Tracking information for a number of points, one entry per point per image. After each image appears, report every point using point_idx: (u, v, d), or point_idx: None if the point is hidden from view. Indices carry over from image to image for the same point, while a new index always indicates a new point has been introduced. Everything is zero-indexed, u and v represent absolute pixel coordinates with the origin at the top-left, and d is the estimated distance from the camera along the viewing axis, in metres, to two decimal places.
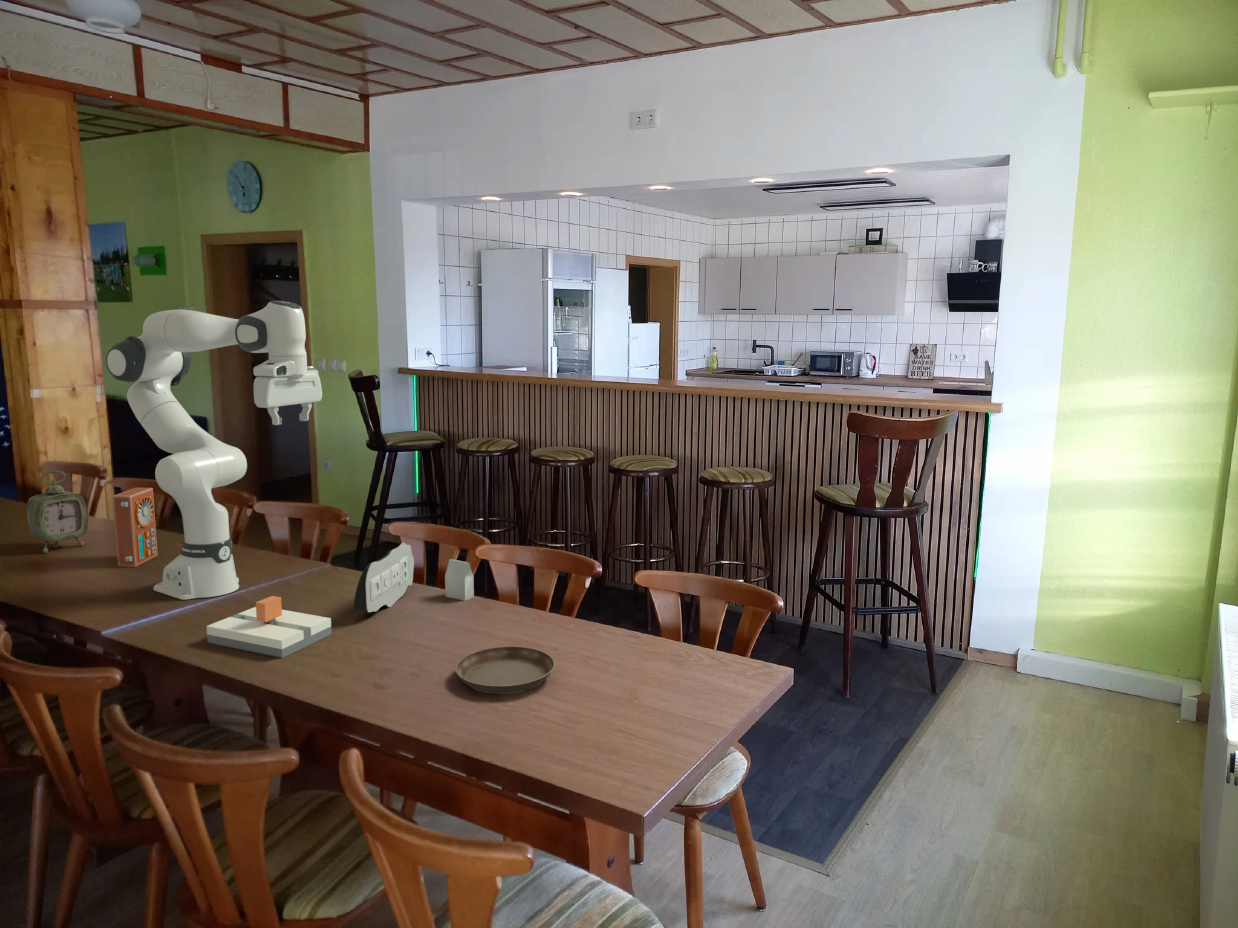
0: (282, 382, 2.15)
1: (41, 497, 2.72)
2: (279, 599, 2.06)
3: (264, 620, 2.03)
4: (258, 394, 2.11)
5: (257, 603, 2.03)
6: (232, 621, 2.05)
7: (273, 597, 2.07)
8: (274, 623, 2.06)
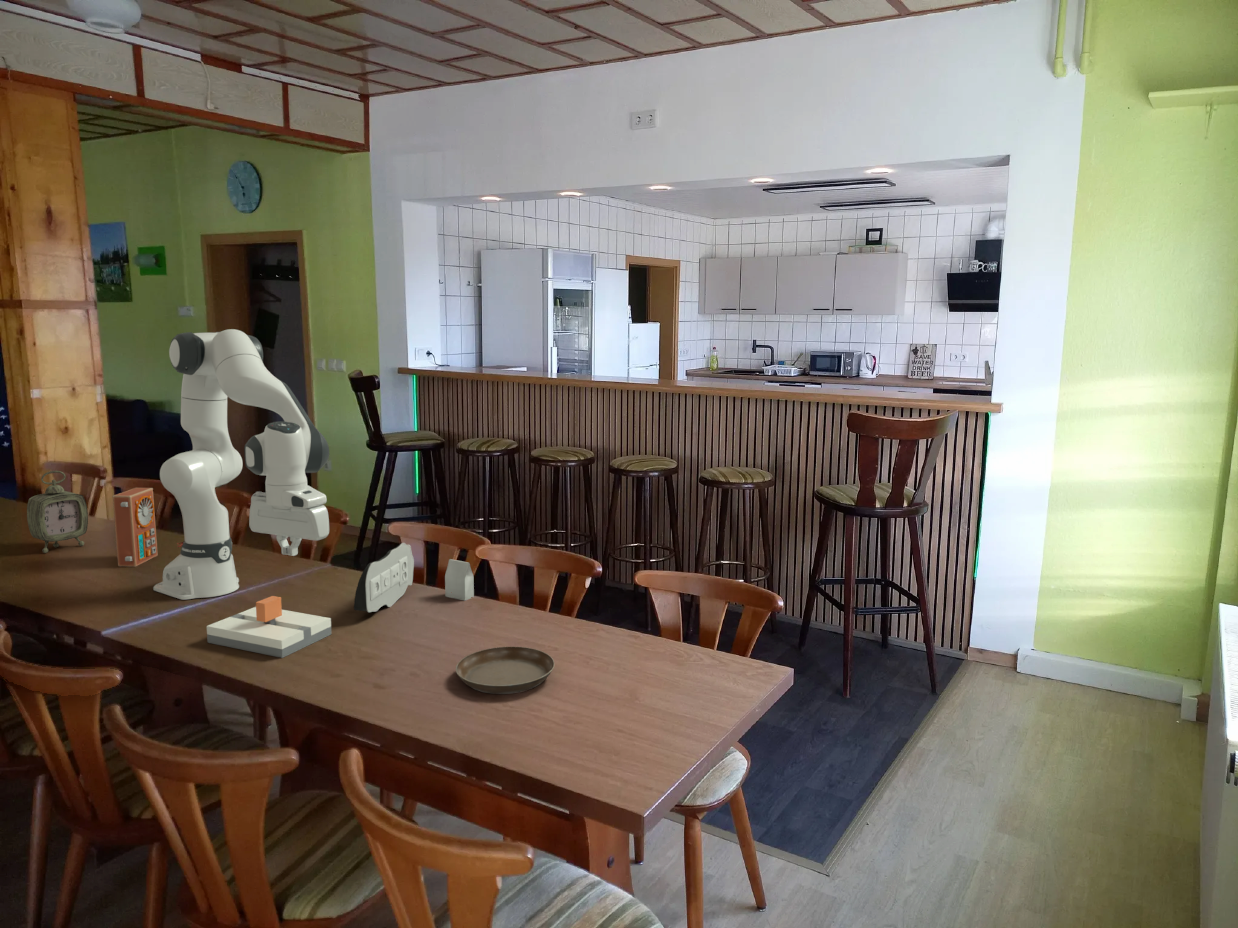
0: None
1: (41, 497, 2.72)
2: (279, 599, 2.06)
3: (264, 620, 2.03)
4: (321, 526, 1.95)
5: (257, 603, 2.03)
6: (232, 621, 2.05)
7: (273, 597, 2.07)
8: (274, 623, 2.06)
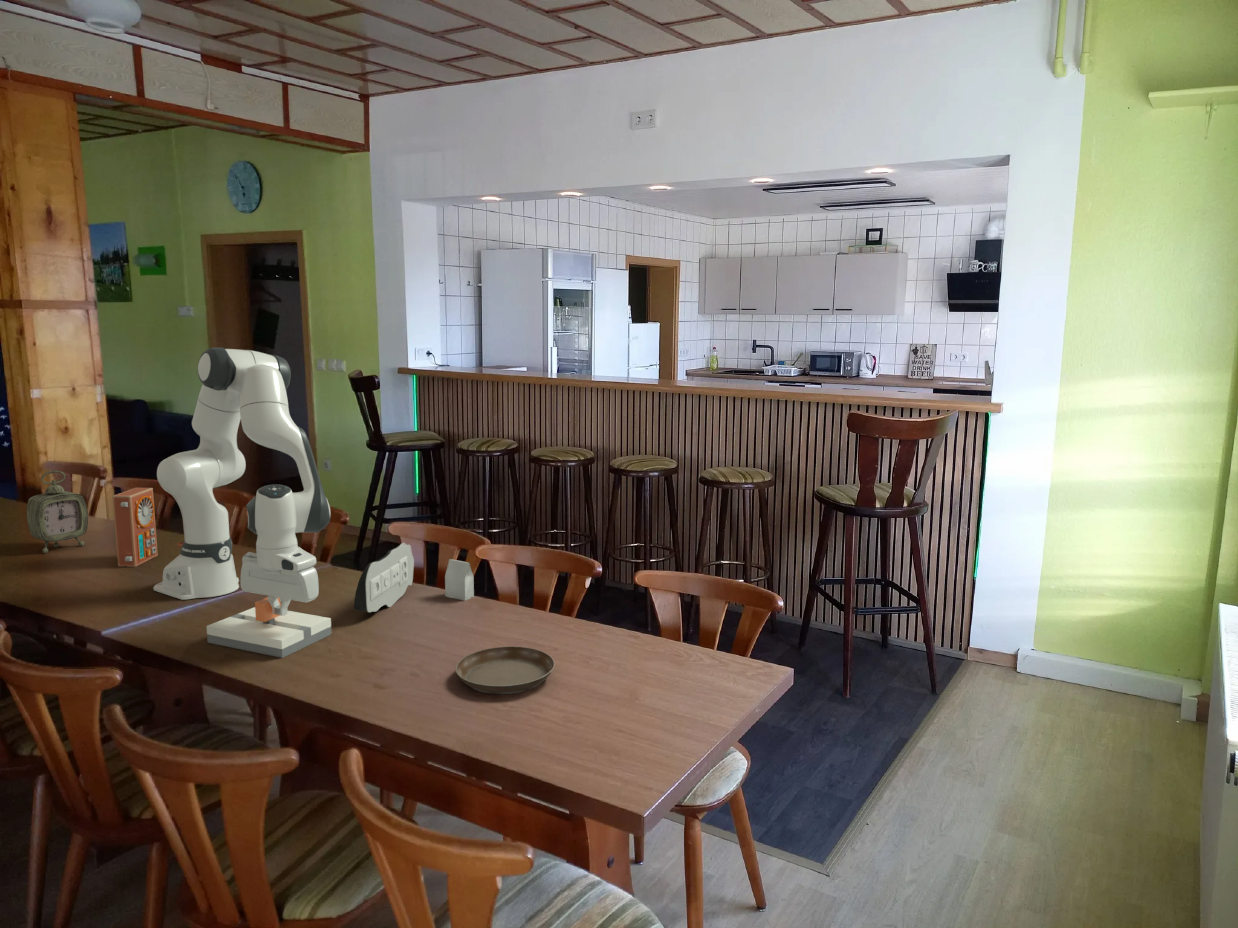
0: None
1: (41, 497, 2.72)
2: (278, 599, 2.06)
3: (263, 620, 2.03)
4: (311, 588, 1.99)
5: (256, 603, 2.03)
6: (232, 621, 2.05)
7: None
8: (273, 623, 2.06)
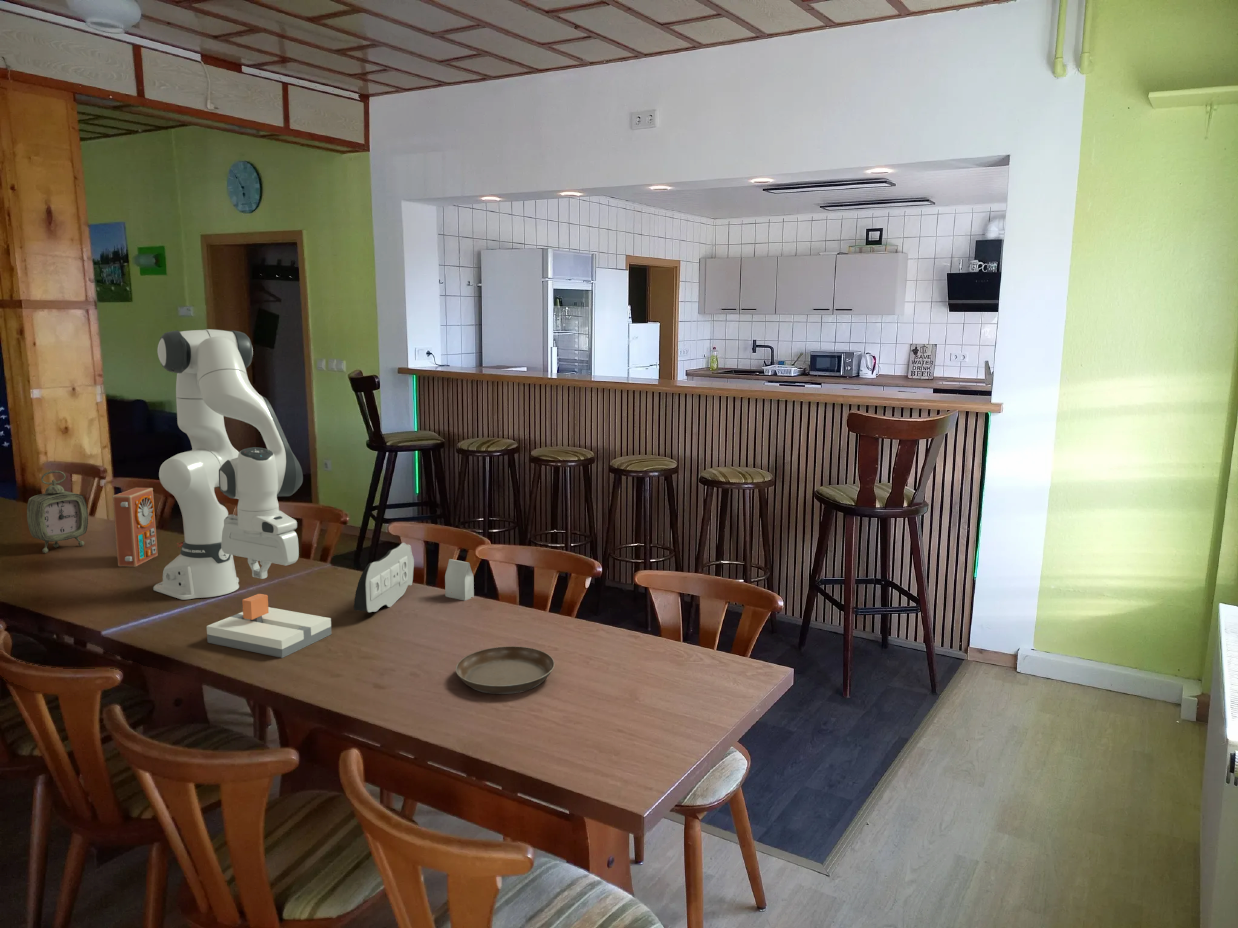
0: None
1: (41, 497, 2.72)
2: (266, 597, 2.08)
3: (250, 617, 2.04)
4: (291, 551, 1.99)
5: (243, 601, 2.04)
6: (232, 621, 2.05)
7: (260, 594, 2.08)
8: (261, 620, 2.07)
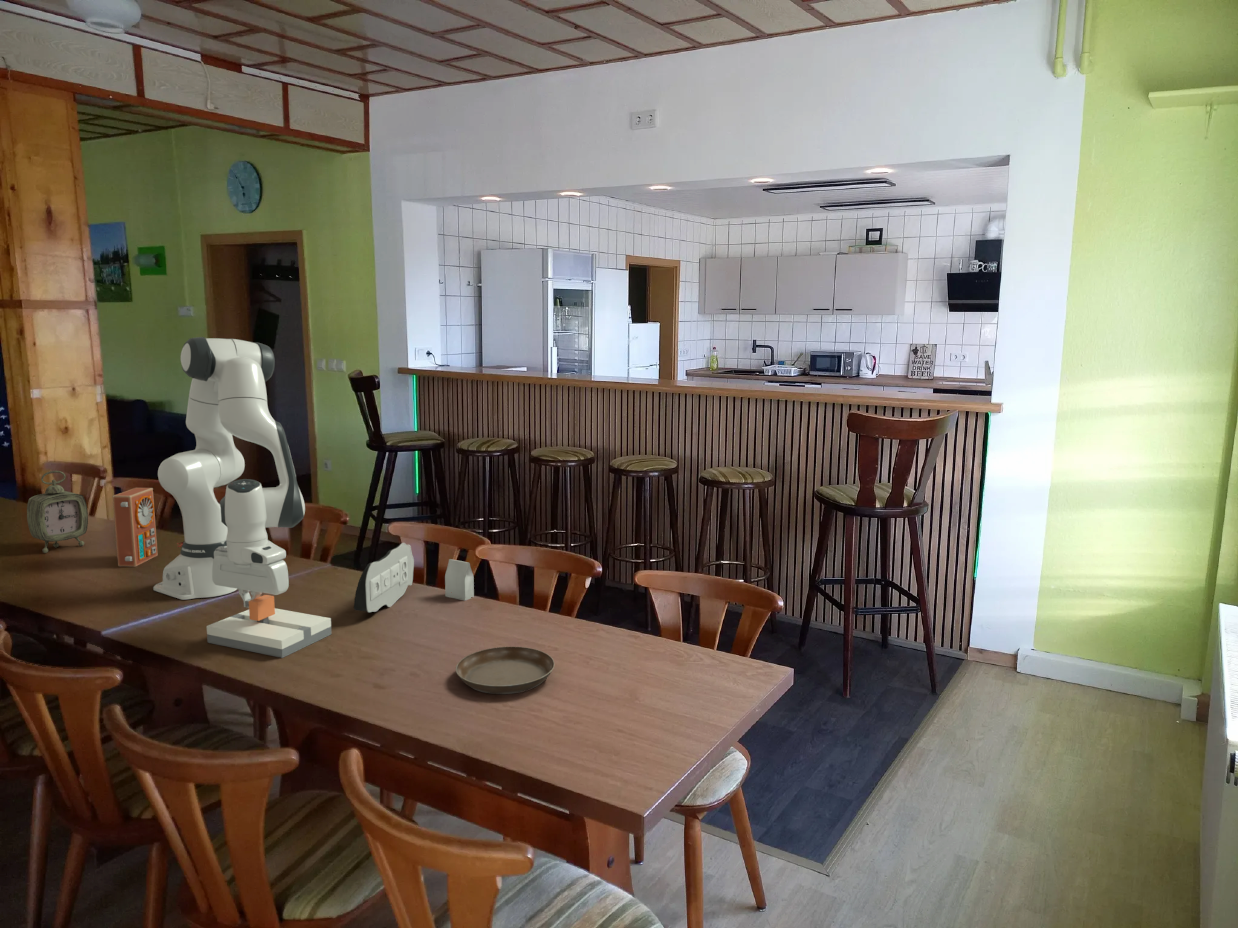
0: None
1: (41, 497, 2.72)
2: (272, 598, 2.07)
3: (257, 619, 2.04)
4: (280, 580, 2.02)
5: (250, 602, 2.04)
6: (232, 621, 2.05)
7: (266, 595, 2.08)
8: (267, 622, 2.07)
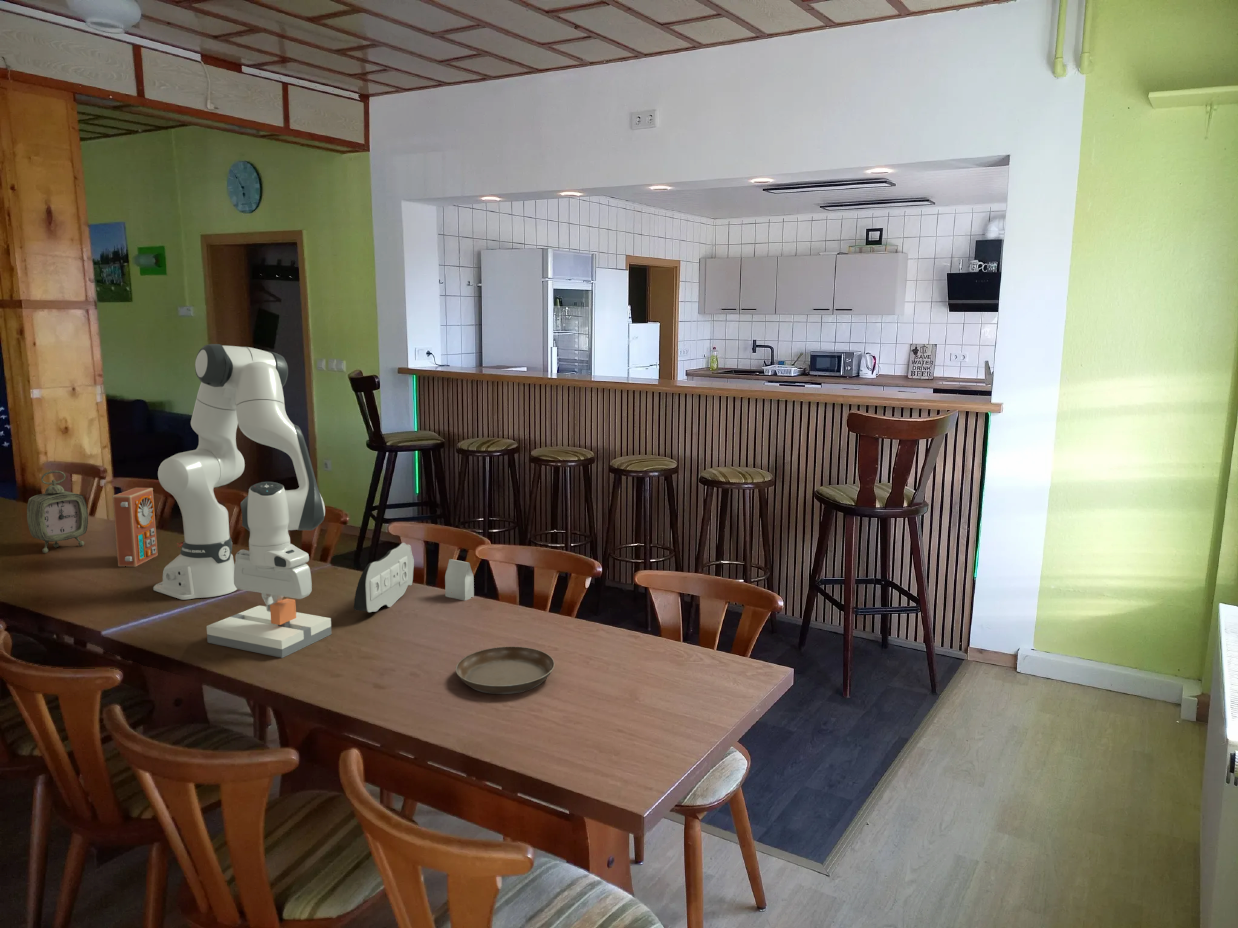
0: None
1: (41, 497, 2.72)
2: (293, 601, 2.05)
3: (278, 623, 2.01)
4: (304, 584, 1.99)
5: (271, 606, 2.01)
6: (232, 621, 2.05)
7: (287, 599, 2.05)
8: (288, 626, 2.04)
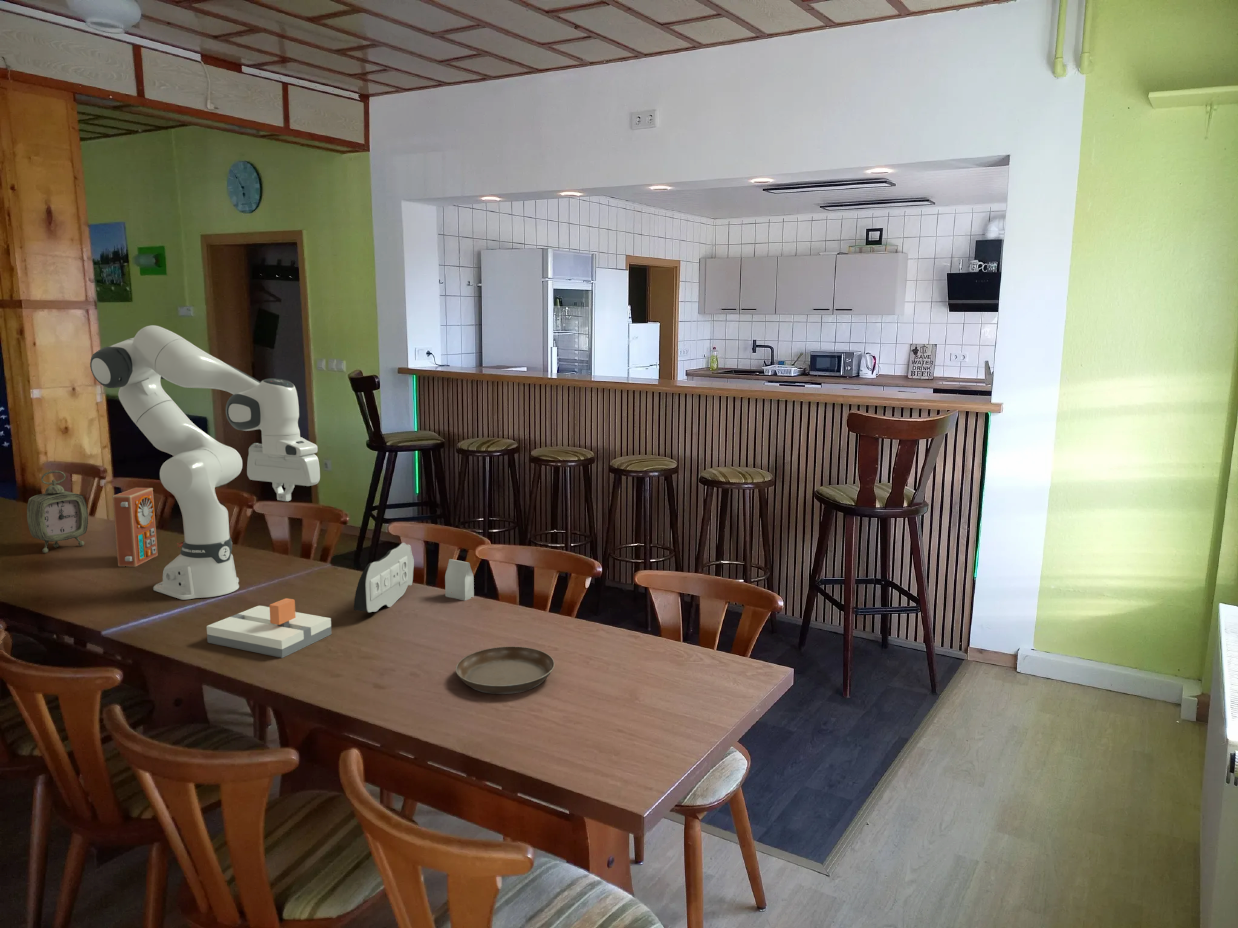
0: None
1: (41, 497, 2.72)
2: (293, 601, 2.05)
3: (278, 623, 2.01)
4: (313, 472, 2.14)
5: (271, 605, 2.01)
6: (232, 621, 2.05)
7: (287, 599, 2.05)
8: (288, 626, 2.04)
